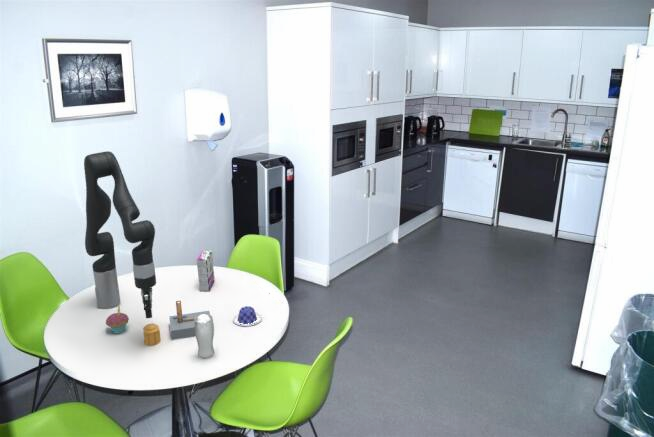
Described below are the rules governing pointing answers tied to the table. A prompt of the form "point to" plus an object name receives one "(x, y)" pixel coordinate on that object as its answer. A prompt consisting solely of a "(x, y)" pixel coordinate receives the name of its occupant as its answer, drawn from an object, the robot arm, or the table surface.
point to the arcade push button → (151, 334)
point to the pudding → (247, 316)
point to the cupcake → (117, 321)
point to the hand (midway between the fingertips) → (149, 312)
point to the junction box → (184, 325)
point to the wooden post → (179, 311)
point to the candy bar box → (205, 270)
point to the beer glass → (204, 335)
